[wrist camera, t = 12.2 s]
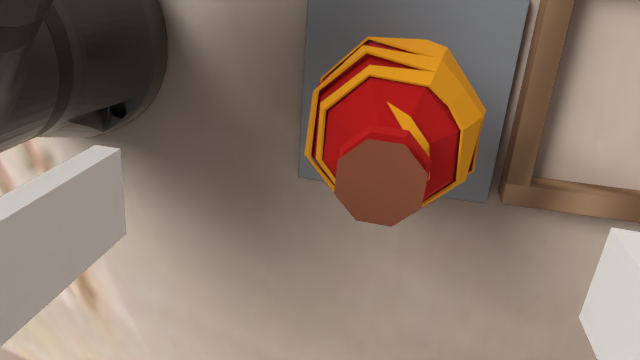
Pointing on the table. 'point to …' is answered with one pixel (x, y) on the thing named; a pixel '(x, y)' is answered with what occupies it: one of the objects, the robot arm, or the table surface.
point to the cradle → (529, 128)
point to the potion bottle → (393, 127)
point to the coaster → (437, 26)
